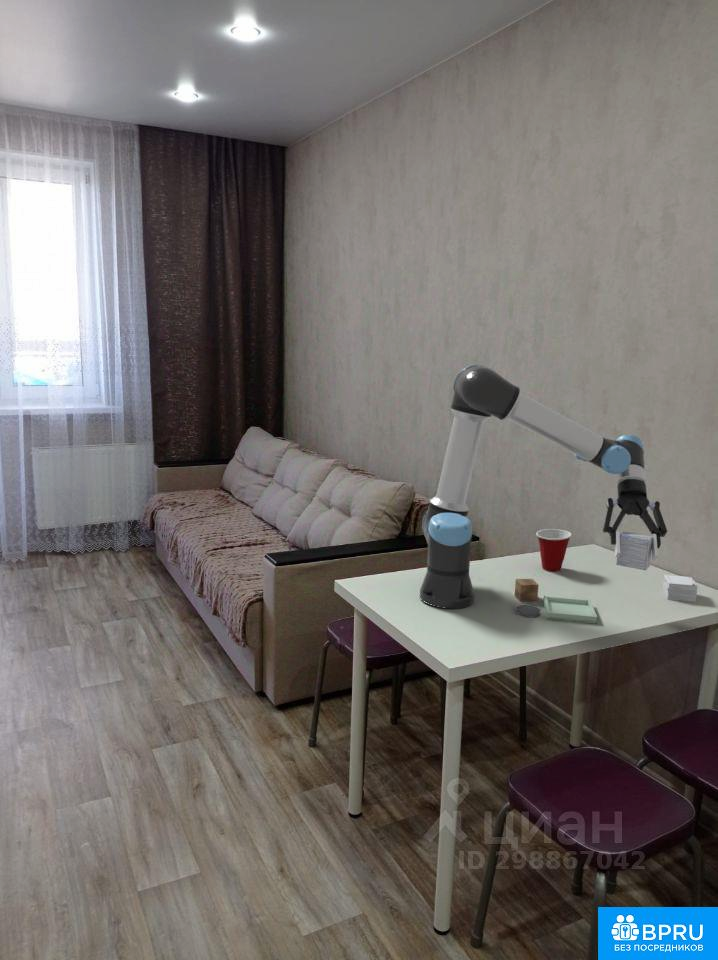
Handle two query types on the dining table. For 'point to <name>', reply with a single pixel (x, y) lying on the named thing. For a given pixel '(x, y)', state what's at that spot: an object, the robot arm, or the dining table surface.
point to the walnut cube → (526, 590)
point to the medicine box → (635, 550)
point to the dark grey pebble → (528, 610)
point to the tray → (569, 609)
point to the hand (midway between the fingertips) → (636, 556)
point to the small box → (680, 588)
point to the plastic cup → (553, 548)
